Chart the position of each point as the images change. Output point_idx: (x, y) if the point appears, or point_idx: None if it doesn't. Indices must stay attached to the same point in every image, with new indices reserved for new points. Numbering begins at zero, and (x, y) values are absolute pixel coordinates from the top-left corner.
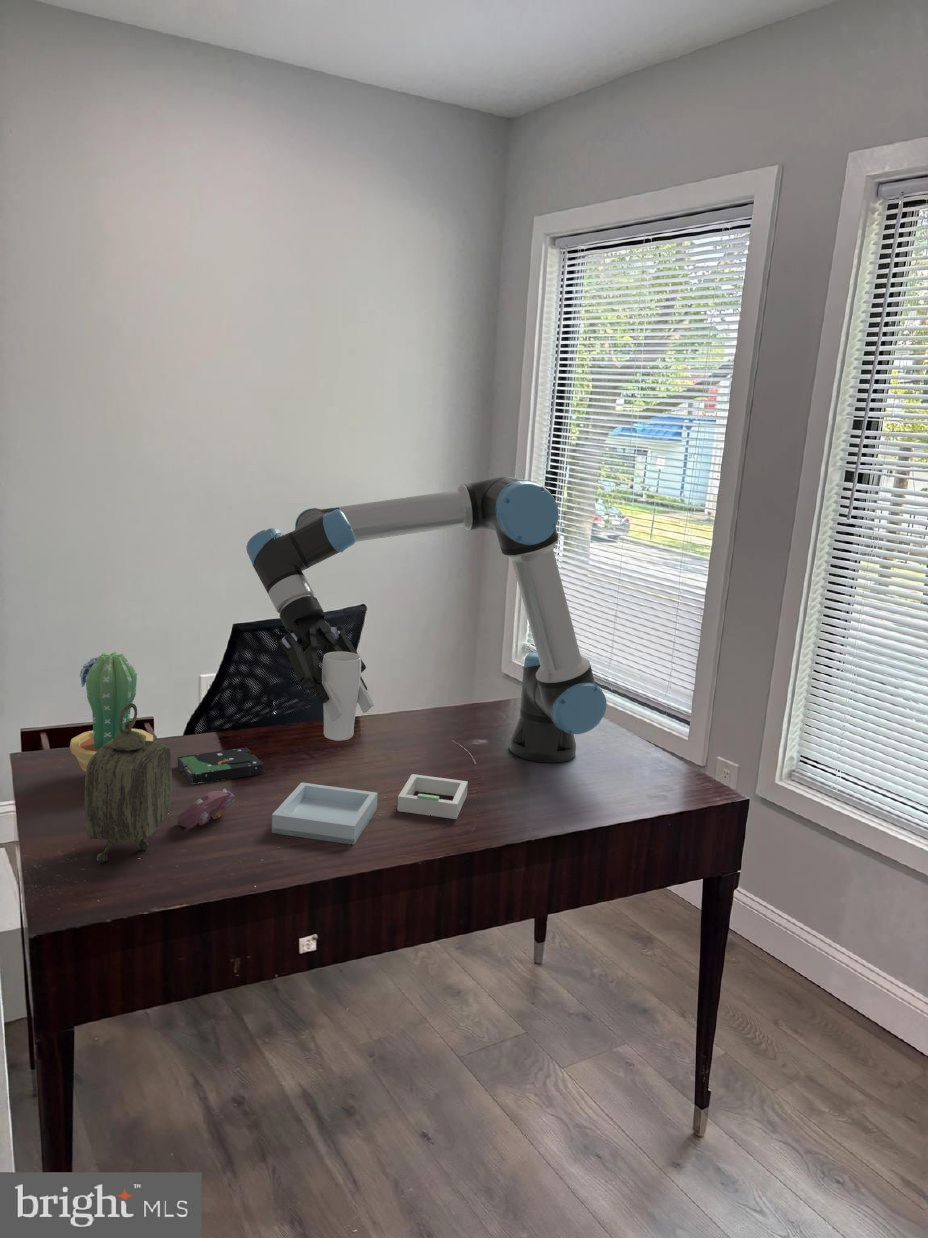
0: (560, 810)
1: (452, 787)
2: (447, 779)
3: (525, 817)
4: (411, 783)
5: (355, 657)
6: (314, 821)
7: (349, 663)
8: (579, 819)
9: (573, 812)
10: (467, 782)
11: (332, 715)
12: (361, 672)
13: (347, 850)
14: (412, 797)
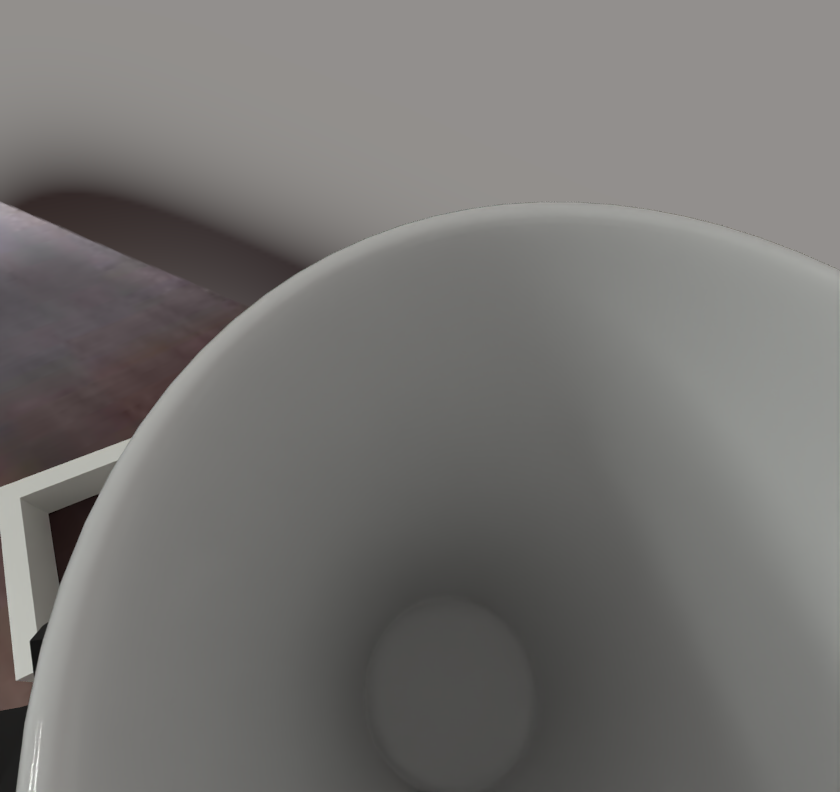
0: (13, 302)
1: (35, 526)
2: (8, 546)
3: (96, 336)
4: None
5: (173, 543)
6: None
7: (702, 259)
8: (46, 261)
9: (11, 281)
10: (3, 486)
11: None
12: (17, 708)
13: None
14: None
